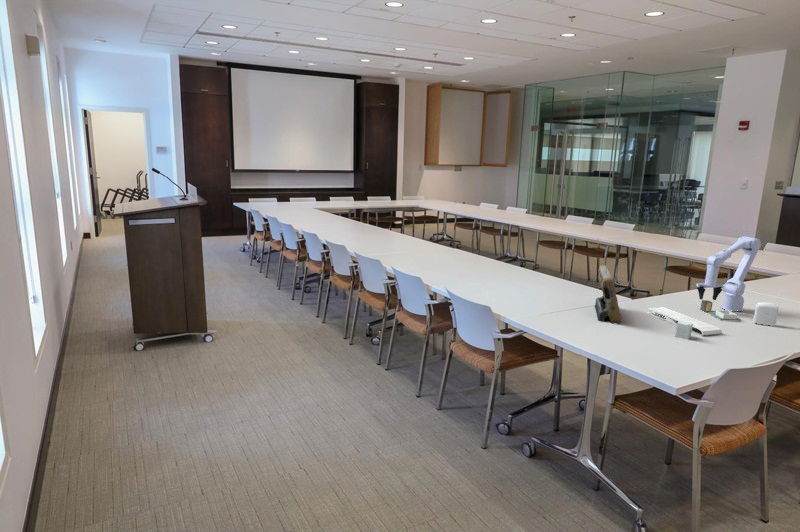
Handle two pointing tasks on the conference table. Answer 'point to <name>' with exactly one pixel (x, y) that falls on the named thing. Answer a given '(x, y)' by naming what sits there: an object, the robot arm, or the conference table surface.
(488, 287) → the conference table surface
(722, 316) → the board
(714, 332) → the white keyboard
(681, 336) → the skincare box
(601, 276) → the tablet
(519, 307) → the conference table surface
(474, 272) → the conference table surface
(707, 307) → the plug
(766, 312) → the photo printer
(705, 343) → the conference table surface
